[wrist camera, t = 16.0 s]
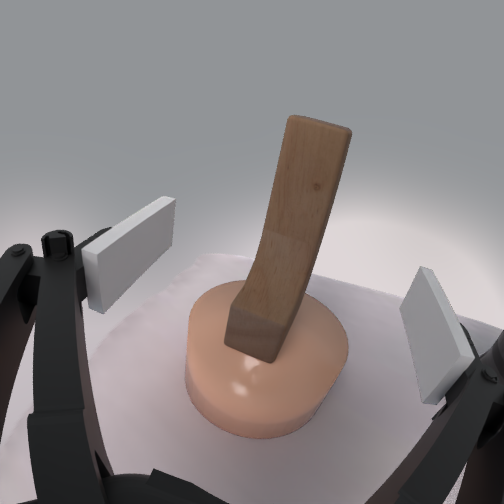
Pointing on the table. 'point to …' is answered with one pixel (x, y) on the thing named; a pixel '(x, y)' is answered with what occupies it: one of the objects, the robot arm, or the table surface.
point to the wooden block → (289, 236)
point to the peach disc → (261, 368)
